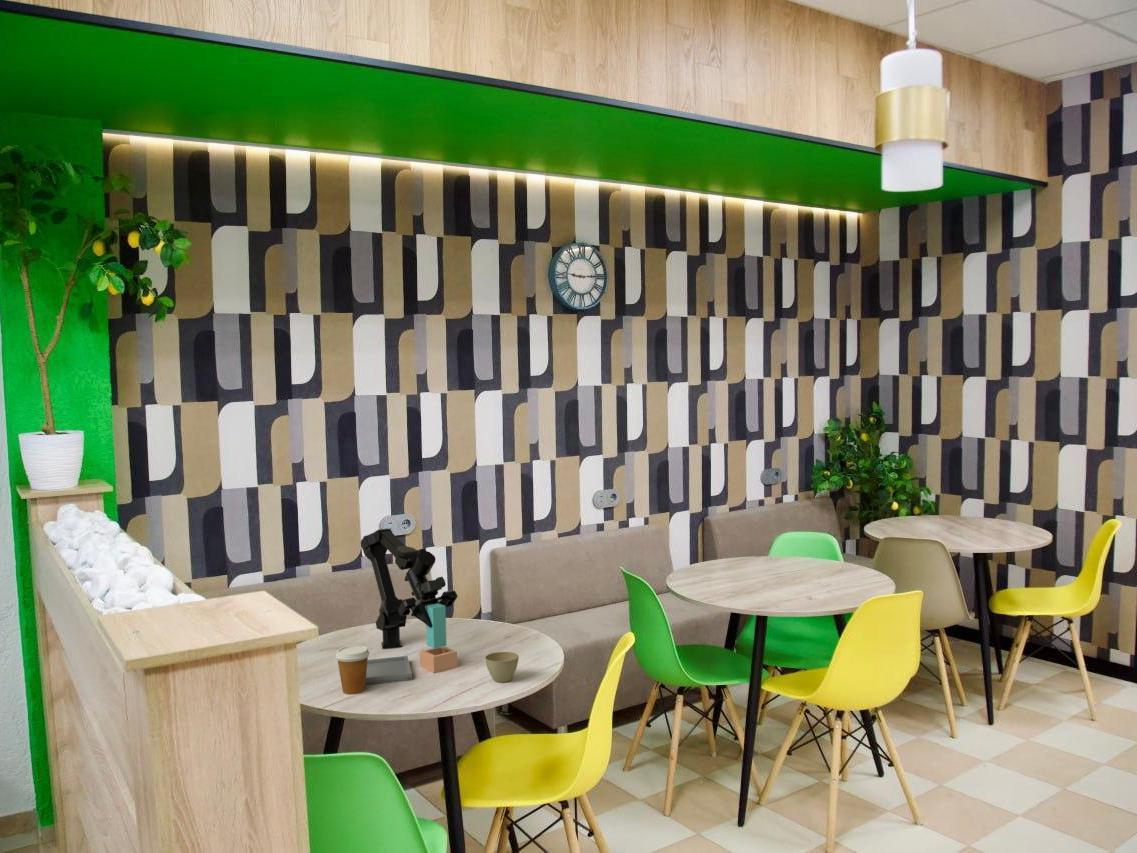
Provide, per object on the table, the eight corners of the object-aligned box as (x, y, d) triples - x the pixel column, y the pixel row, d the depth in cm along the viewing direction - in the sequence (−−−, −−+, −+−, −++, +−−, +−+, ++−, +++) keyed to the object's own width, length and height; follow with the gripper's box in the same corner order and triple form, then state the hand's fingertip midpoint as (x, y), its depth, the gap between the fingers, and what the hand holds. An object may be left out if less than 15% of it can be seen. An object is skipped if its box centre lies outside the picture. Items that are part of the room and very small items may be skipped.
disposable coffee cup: (362, 697, 259) (360, 655, 259) (331, 695, 261) (329, 654, 261) (375, 685, 269) (374, 645, 268) (345, 684, 271) (344, 644, 270)
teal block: (427, 645, 285) (425, 605, 284) (439, 642, 287) (438, 603, 287) (434, 648, 281) (432, 608, 280) (446, 645, 284) (445, 605, 283)
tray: (356, 667, 287) (355, 660, 287) (407, 662, 290) (407, 655, 290) (357, 685, 269) (356, 679, 269) (412, 680, 273) (411, 673, 273)
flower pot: (526, 677, 273) (525, 654, 272) (505, 687, 265) (504, 663, 264) (499, 672, 278) (499, 649, 278) (478, 681, 270) (478, 658, 270)
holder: (420, 666, 286) (419, 651, 285) (443, 661, 291) (442, 645, 291) (433, 673, 279) (433, 657, 279) (457, 667, 284) (456, 651, 284)
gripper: (401, 573, 280) (420, 616, 272) (453, 565, 292) (473, 605, 284) (390, 594, 287) (408, 636, 279) (442, 585, 298) (460, 625, 290)
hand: (438, 625), depth 283 cm, fingers closed on teal block, 4 cm apart
